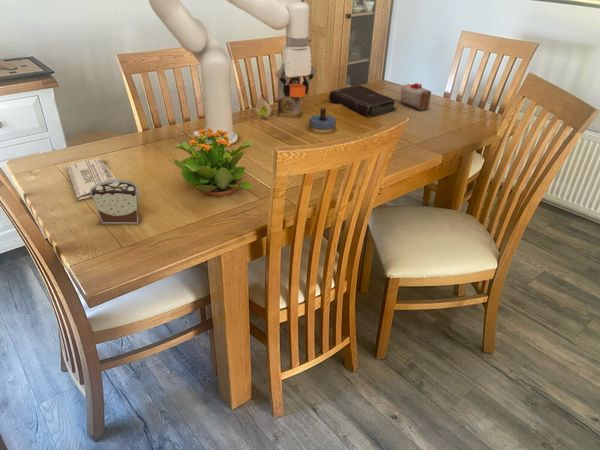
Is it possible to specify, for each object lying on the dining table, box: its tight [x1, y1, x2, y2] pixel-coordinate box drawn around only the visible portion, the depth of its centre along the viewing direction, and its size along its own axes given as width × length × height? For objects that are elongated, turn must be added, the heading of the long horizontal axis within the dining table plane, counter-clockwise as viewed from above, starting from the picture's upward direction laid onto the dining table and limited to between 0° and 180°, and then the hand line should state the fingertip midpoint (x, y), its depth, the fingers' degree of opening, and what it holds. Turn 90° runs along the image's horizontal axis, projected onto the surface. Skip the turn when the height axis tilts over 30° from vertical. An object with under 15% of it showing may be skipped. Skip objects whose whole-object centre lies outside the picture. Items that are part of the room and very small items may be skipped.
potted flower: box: [172, 128, 254, 197], centre depth 135 cm, size 25×24×18 cm
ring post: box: [309, 107, 336, 131], centre depth 182 cm, size 10×10×8 cm
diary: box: [328, 84, 399, 118], centre depth 207 cm, size 19×25×5 cm
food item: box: [400, 82, 432, 111], centre depth 208 cm, size 14×8×10 cm, turn 33°
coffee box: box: [277, 74, 302, 115], centre depth 193 cm, size 9×6×16 cm
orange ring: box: [289, 83, 307, 98], centre depth 168 cm, size 6×6×3 cm
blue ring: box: [308, 114, 337, 131], centre depth 182 cm, size 10×10×2 cm
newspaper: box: [66, 157, 117, 200], centre depth 142 cm, size 23×12×2 cm, turn 30°
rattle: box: [255, 90, 272, 118], centre depth 190 cm, size 8×8×12 cm
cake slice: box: [89, 178, 141, 225], centre depth 122 cm, size 12×6×10 cm, turn 92°
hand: (295, 94), depth 169 cm, fingers closed on orange ring, 6 cm apart
